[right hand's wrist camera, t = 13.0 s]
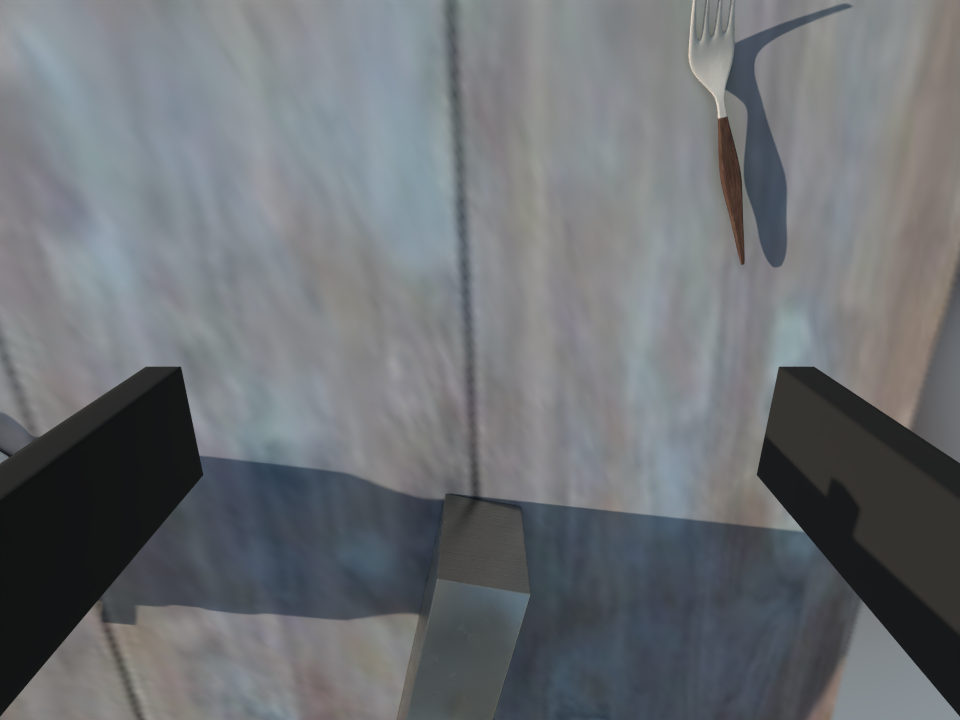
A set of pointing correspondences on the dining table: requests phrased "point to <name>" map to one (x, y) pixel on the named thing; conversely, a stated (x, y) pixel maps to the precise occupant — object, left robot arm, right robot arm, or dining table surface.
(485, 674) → the bar
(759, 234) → the dining table surface
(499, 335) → the dining table surface
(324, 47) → the dining table surface
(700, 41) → the fork
